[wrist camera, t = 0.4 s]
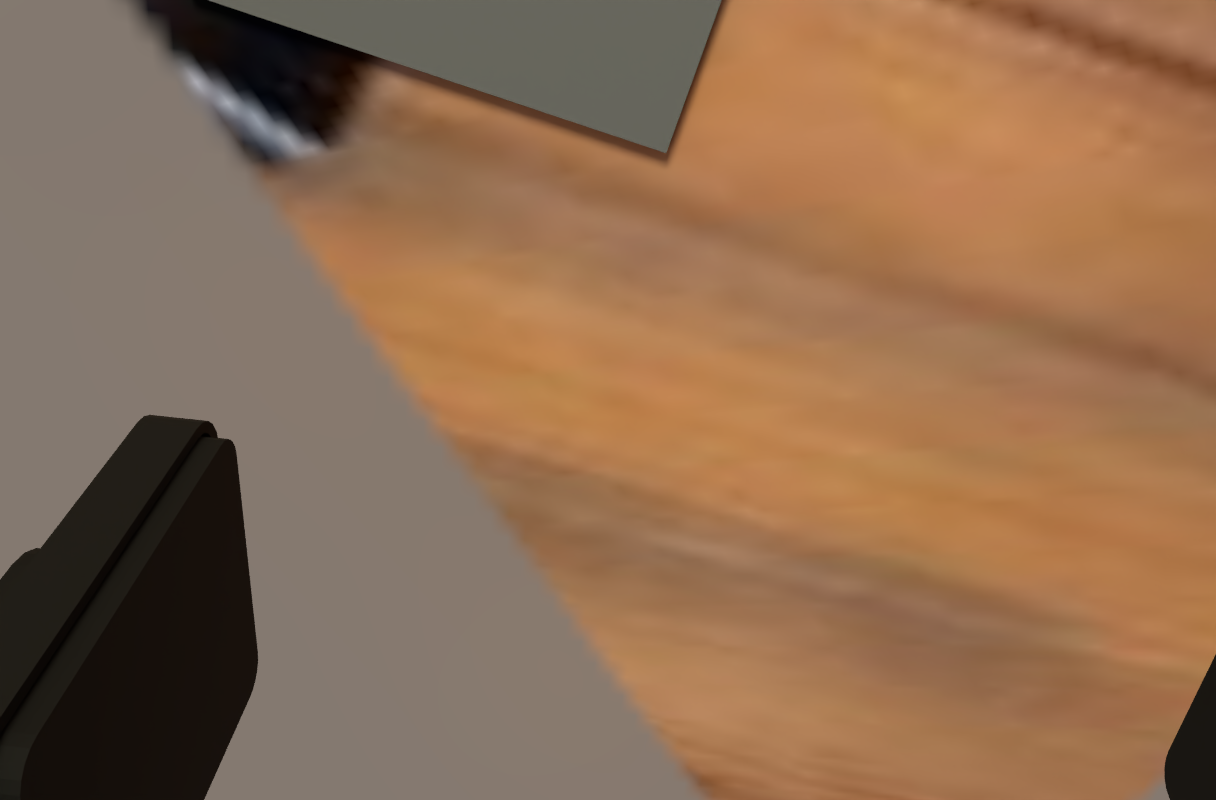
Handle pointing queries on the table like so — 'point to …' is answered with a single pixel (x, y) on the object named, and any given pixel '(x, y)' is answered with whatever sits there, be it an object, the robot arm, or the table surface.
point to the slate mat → (531, 51)
